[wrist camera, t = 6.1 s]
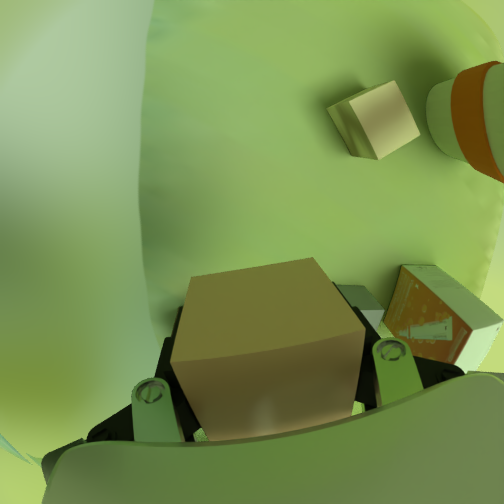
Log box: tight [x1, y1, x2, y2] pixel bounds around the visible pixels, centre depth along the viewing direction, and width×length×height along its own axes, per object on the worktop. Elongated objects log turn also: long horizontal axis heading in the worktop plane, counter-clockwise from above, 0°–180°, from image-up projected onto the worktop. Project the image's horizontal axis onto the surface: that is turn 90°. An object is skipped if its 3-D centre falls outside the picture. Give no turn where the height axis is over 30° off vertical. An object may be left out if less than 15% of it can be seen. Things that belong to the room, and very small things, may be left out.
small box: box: [384, 265, 504, 373], centre depth 23 cm, size 8×6×13 cm
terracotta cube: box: [170, 257, 366, 441], centre depth 9 cm, size 5×5×5 cm
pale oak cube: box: [326, 80, 420, 160], centre depth 19 cm, size 5×5×5 cm
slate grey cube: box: [336, 285, 385, 331], centre depth 26 cm, size 5×5×5 cm
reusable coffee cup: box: [426, 61, 504, 183], centre depth 15 cm, size 12×12×15 cm
